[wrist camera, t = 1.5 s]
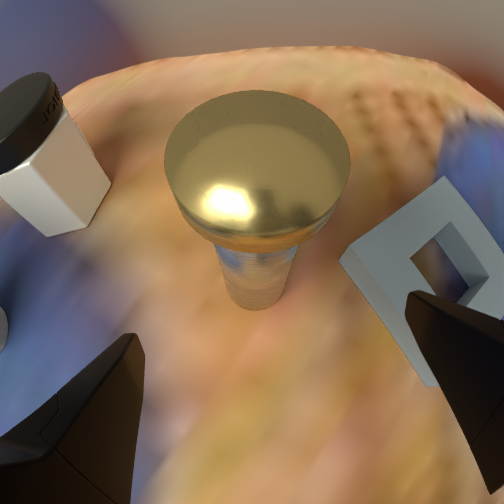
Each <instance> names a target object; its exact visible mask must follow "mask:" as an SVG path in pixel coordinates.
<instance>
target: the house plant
mask: <svg viewBox="0 0 504 504" xmlns="http://www.w3.org/2000/svg"><path fill="white" fill-rule="evenodd" d="M7 335H8V322H7V317H6V314H5V312H4V310H3V309H2V307H1V306H0V352H1V351H2V349H3V348H4V346H5V344H6V341H7Z"/></svg>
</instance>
